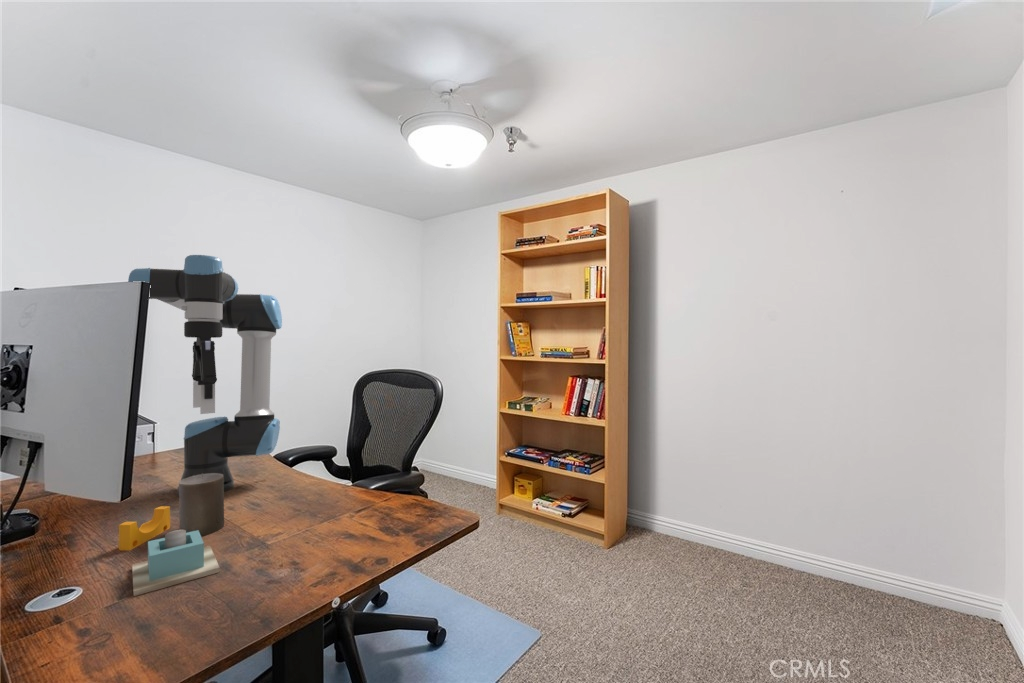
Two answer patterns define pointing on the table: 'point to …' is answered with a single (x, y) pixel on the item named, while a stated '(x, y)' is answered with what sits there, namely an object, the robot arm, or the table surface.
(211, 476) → the pillar candle
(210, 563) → the post block
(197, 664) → the table surface
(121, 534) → the pipe clamp
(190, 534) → the collar
